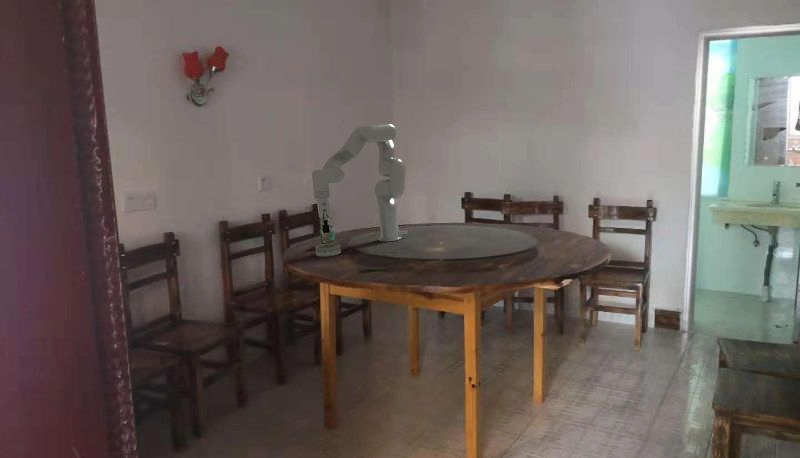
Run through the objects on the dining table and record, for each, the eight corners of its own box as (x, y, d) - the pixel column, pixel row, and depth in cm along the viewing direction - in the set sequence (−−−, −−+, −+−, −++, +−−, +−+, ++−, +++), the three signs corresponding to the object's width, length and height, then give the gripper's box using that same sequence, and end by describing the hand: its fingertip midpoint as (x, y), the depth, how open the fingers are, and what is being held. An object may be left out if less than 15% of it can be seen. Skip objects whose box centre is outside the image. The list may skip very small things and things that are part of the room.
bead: (338, 249, 316) (337, 242, 315) (342, 254, 304) (341, 246, 303) (315, 253, 313) (314, 245, 312) (317, 257, 301) (317, 249, 301)
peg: (330, 241, 310) (327, 213, 307) (331, 242, 306) (328, 214, 304) (322, 242, 309) (319, 214, 306) (323, 243, 305) (320, 215, 303)
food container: (333, 248, 322) (330, 228, 320) (321, 248, 323) (319, 229, 322) (340, 243, 334) (337, 224, 332) (329, 243, 335) (326, 225, 333)
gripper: (332, 195, 296) (335, 233, 299) (327, 192, 312) (330, 228, 315) (316, 197, 295) (320, 235, 298) (312, 194, 311) (316, 230, 314)
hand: (325, 231), depth 306 cm, fingers closed on peg, 4 cm apart
